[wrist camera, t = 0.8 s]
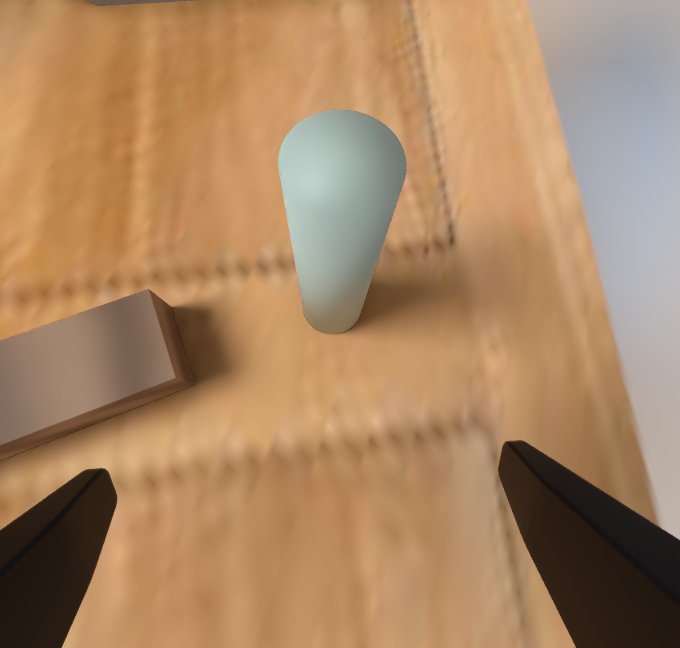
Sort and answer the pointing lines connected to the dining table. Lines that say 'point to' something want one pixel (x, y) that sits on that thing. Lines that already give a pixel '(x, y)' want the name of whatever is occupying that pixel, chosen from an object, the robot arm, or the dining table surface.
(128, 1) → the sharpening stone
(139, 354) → the brown wooden block
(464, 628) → the dining table surface
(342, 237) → the post
